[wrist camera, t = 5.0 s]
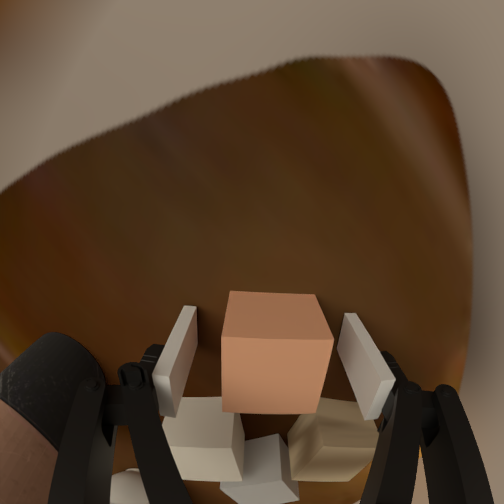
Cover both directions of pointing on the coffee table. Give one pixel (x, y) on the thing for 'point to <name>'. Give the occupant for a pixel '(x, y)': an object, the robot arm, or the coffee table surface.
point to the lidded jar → (128, 488)
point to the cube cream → (206, 440)
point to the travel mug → (38, 413)
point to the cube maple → (331, 442)
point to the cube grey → (264, 474)
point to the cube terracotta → (274, 353)
